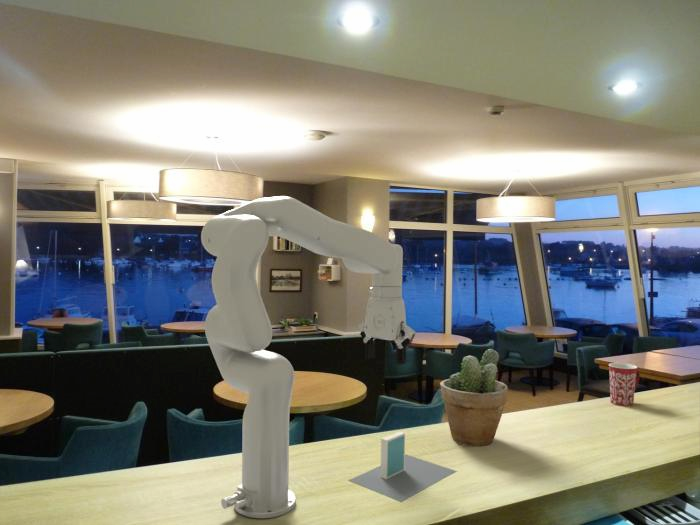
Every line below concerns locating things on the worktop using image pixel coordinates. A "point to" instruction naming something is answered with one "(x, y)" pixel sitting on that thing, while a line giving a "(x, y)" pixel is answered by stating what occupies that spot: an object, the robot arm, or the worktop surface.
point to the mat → (404, 479)
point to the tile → (392, 454)
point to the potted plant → (474, 400)
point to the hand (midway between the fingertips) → (385, 361)
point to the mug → (623, 383)
